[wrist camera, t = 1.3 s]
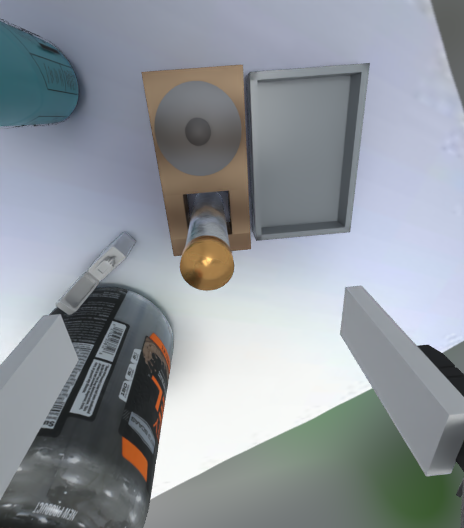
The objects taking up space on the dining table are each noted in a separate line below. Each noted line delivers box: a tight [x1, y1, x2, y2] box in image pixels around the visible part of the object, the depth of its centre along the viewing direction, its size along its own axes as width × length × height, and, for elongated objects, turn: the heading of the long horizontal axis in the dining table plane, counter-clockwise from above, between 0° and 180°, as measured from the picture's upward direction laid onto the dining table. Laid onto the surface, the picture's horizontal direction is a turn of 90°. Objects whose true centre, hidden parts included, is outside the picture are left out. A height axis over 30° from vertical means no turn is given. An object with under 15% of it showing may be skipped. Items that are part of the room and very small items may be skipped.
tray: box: [246, 63, 370, 241], centre depth 29 cm, size 15×10×3 cm
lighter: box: [56, 232, 135, 315], centre depth 30 cm, size 7×2×8 cm, turn 131°
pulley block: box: [142, 65, 251, 256], centre depth 27 cm, size 16×8×7 cm, turn 4°
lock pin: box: [180, 192, 234, 290], centre depth 25 cm, size 3×3×15 cm
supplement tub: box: [0, 287, 173, 528], centre depth 27 cm, size 16×16×26 cm
